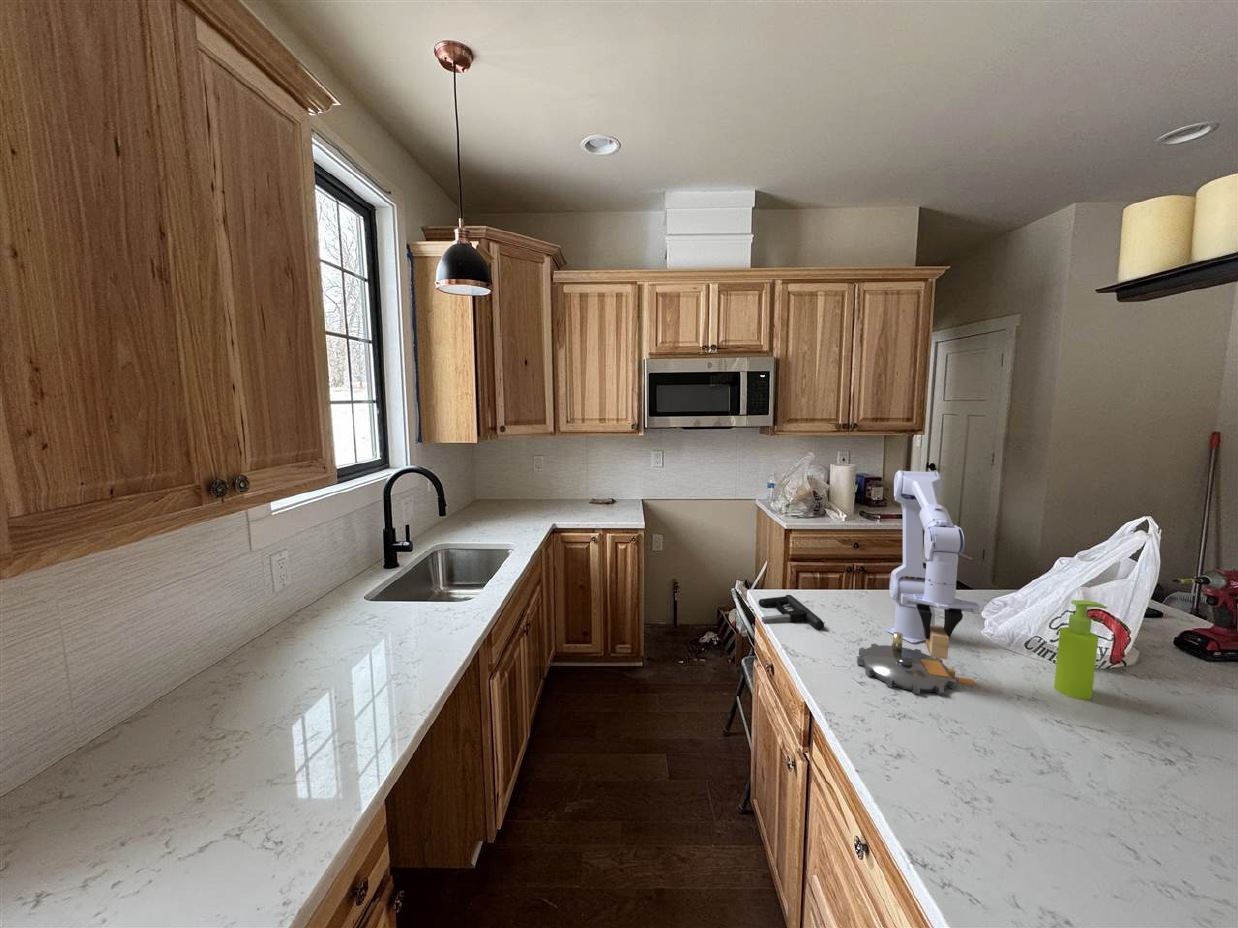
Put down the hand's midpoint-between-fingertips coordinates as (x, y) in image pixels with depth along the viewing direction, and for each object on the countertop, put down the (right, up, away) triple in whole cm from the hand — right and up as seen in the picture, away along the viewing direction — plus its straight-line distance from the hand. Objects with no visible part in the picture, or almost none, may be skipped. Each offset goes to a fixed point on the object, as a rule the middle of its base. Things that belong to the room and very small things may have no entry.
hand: (936, 638), depth 109 cm
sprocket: (-5, -9, +3) cm, 11 cm away
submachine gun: (-23, -6, +33) cm, 41 cm away
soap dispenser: (+26, -10, -5) cm, 29 cm away
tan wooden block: (0, -3, 0) cm, 3 cm away
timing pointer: (+6, -9, -1) cm, 11 cm away
